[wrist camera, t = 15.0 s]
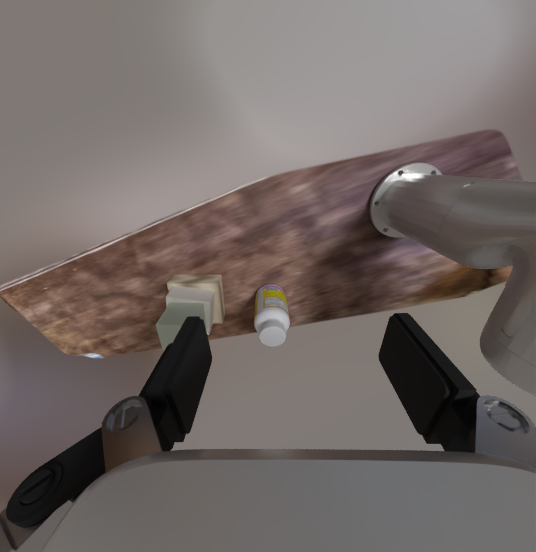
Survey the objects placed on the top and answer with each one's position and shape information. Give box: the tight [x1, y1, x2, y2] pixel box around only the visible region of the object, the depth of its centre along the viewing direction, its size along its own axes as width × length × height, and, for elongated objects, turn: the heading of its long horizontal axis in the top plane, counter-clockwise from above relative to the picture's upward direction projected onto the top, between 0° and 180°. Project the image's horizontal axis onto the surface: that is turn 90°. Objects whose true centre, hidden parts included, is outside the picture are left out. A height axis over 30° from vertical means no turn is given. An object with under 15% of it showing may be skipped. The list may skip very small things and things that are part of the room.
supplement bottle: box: [254, 284, 290, 347], centre depth 42 cm, size 7×7×13 cm
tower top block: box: [166, 286, 215, 335], centre depth 43 cm, size 8×8×4 cm
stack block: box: [155, 302, 207, 352], centre depth 38 cm, size 6×6×6 cm
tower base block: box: [167, 275, 225, 323], centre depth 46 cm, size 10×10×4 cm
